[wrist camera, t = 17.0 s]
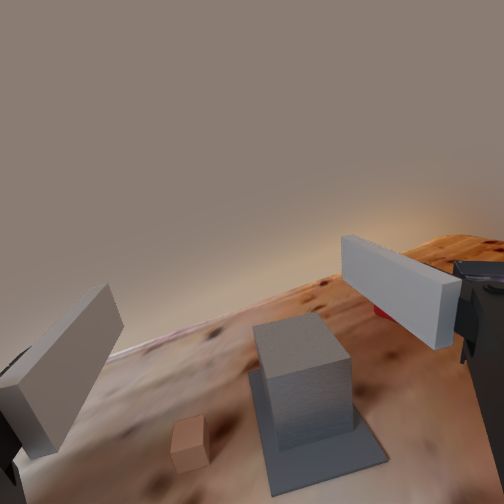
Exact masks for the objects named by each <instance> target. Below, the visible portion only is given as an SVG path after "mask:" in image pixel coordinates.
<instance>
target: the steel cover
mask: <svg viewBox="0 0 504 504" xmlns="http://www.w3.org/2000/svg"><path fill="white" fill-rule="evenodd" d="M253 332H254V338H255V343H256V349H257V354H258V360H259V365H260V371H261V376H262V382H263V387H264V391H265V395H266V400H267V404H268V408H269V412H270V416H271V420H272V424H273V428H274V432H275V436H276V440H277V444H278V448H279V452H283V451H286V450H290V449H293V448H297V447H300V446H304V445H307V444H311V443H314V442H318V441H321V440H325V439H328V438H332V437H335V436H339V435H342V434H346V433H349V432H352V431H354V428H353V398H352V367H351V357H350V355H349V354H348V353H347V351H346V350H345V349H344V347H343V346H342V345H341V344H340V342H339V341H338V340H337V338H336V337H335V336H334V334H333V333H332V332H331V331H330V329H329V328H328V327H327V325H326V324H325V323H324V321H323V320H322V319H321V317H320V316H319V315H318V314H317V312H314V313H309V314H305V315H301V316H296V317H292V318H288V319H283V320H279V321H275V322H270V323H266V324H262V325H257V326H253Z"/></svg>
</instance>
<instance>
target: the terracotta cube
mask: <svg viewBox="0 0 504 504" xmlns="http://www.w3.org/2000/svg"><path fill="white" fill-rule="evenodd" d="M170 455H171V458H172V460H173V463H174V465H175V468H176V470H177V473H178V474H181V473H185V472H188V471H192V470H195V469H199V468H202V467H206V466H209V465H210V434H209V430H208V427H207V423H206V420H205V417H204V414H203V415H199V416H195V417H192V418H188V419H184V420H180V421H177V422H174V428H173V435H172V442H171V449H170Z"/></svg>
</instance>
